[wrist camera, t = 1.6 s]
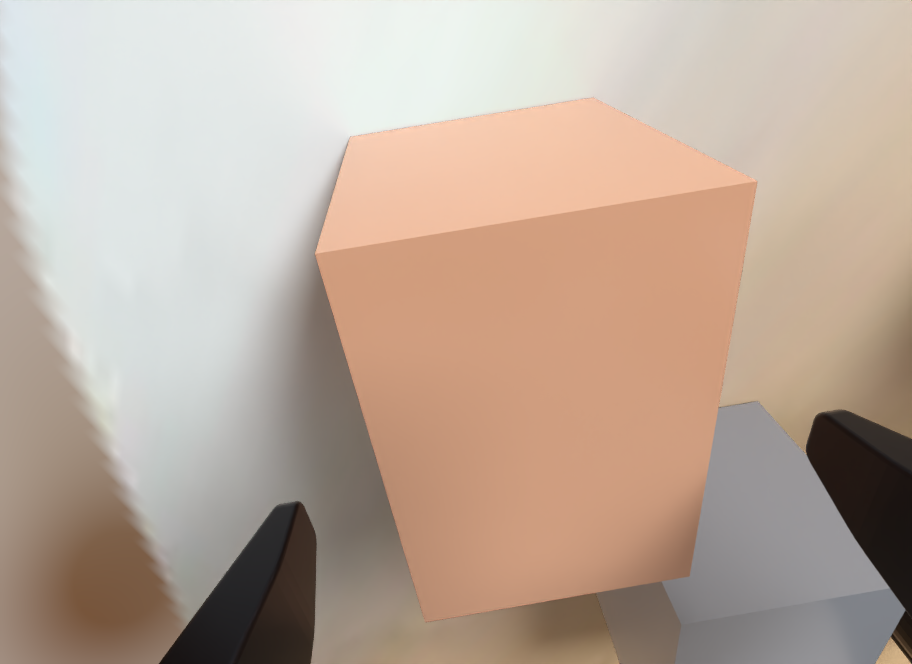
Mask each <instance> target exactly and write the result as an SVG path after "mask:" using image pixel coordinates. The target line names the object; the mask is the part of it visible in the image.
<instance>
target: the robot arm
mask: <svg viewBox="0 0 912 664" xmlns="http://www.w3.org/2000/svg"><path fill="white" fill-rule="evenodd" d="M806 453H807V457H808V459H809V462H810V463H811V465H812V467H813V469H814V470H815V472H816V474H817V475H818V477H819V479H820V481H821V482H822V484H823V486H824V487H825V489H826V491H827V493H828V494H829V496H830V498H831V500H832V501H833V503H834V505H835V506H836V508H837V510H838V512H839V513H840V515H841V517H842V518H843V520H844V522H845V524H846V525H847V527H848V529H849V530H850V532H851V533H852V535H853V537H854V538H855V540H856V541H857V543H858V544H859V546H860V547H861V549H862V550H863V552H864V553H865V554H866V556H867V557H868V559H869V560H870V561H871V563H872V564H873V566H874V567H875V568H876V570H877V571H878V572H879V574H880V575H881V577H882V578H883V579H884V581H885V582H886V584H887V585H888V586H889V588H890V589H891V591H892V592H893V593H894V595H895V596H896V597H897V599H898V600H899V602H900V603H901V604H902V606H903V607H904V609H905V612H904V614H903V616H902V617H901V619H900V621H899V623H898V624H897V626H896V628H895V630H894V631H893V633H892V635H891V638H892V639H893V640H894V642H895V643H896V644H897V646H898V647H899V648H900V649H901V651H902V652H903V653H904V655H905V656H906V657H907V658H908V660H909V661H910V662H911V664H912V439H910V438H908V437H906V436H904V435H901V434H899V433H897V432H895V431H892V430H890V429H888V428H885V427H883V426H881V425H879V424H876V423H874V422H872V421H869V420H867V419H865V418H863V417H860V416H858V415H856V414H854V413H851V412H849V411H846V410H833V411H827V412H821V413H819V414H818V415H817V416H816V417H815V419H814V421H813V425H812V428H811V431H810V435H809V438H808V441H807V445H806ZM316 548H317V543H316V534H315V531H314V528H313V526H312V523H311V521H310V519H309V516H308V514H307V512H306V510H305V507H304V505H303V504H302V503H301V502H299V501H295V502H290V503H284V504H279V505H277V506H276V507H275V508H274V509H273V510H272V511H271V513H270V514H269V515H268V517H267V518H266V520H265V521H264V522H263V524H262V525H261V526H260V528H259V529H258V530H257V532H256V533H255V534H254V536H253V537H252V538H251V540H250V541H249V543H248V544H247V545H246V547H245V548H244V549H243V551H242V552H241V553H240V555H239V556H238V557H237V559H236V560H235V561H234V563H233V564H232V565H231V567H230V568H229V570H228V571H227V572H226V574H225V575H224V576H223V578H222V579H221V580H220V582H219V583H218V584H217V586H216V587H215V588H214V590H213V591H212V593H211V594H210V595H209V597H208V598H207V599H206V601H205V602H204V603H203V605H202V606H201V607H200V609H199V610H198V611H197V613H196V614H195V615H194V617H193V618H192V620H191V621H190V622H189V624H188V625H187V626H186V628H185V629H184V630H183V632H182V633H181V634H180V636H179V637H178V638H177V640H176V641H175V643H174V644H173V645H172V647H171V648H170V649H169V651H168V652H167V653H166V655H165V656H164V657H163V659H162V660H161V662H160V663H159V664H311V657H312V649H313V640H314V626H315V591H316Z"/></svg>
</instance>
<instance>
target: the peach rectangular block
mask: <svg viewBox="0 0 912 664" xmlns="http://www.w3.org/2000/svg"><path fill="white" fill-rule="evenodd" d="M756 187H757V181H756V180H754V179H752V178H750V177H748V176H746V175H744V174H743V173H741V172H739V171H737V170H735V169H733V168H731V167H729V166H727V165H725V164H723V163H721V162H719V161H717V160H715V159H713V158H711V157H709V156H707V155H705V154H703V153H701V152H699V151H697V150H695V149H693V148H691V147H690V146H688V145H686V144H684V143H682V142H680V141H678V140H676V139H674V138H672V137H670V136H668V135H666V134H664V133H662V132H660V131H658V130H656V129H654V128H652V127H650V126H648V125H646V124H644V123H642V122H640V121H638V120H637V119H635V118H633V117H631V116H629V115H627V114H625V113H623V112H621V111H619V110H617V109H615V108H613V107H611V106H609V105H607V104H605V103H603V102H601V101H599V100H597V99H595V98H587V99H581V100H575V101H569V102H563V103H556V104H550V105H544V106H538V107H532V108H525V109H519V110H513V111H507V112H501V113H494V114H488V115H482V116H476V117H470V118H464V119H457V120H451V121H445V122H439V123H433V124H426V125H420V126H414V127H408V128H402V129H395V130H389V131H383V132H377V133H371V134H365V135H358V136H352V137H350V139H349V142H348V145H347V149H346V152H345V155H344V159H343V162H342V165H341V169H340V172H339V175H338V179H337V182H336V185H335V189H334V192H333V195H332V199H331V202H330V205H329V209H328V212H327V215H326V219H325V222H324V225H323V229H322V232H321V235H320V238H319V242H318V245H317V248H316V252H315V256H316V259H317V263H318V266H319V269H320V273H321V276H322V279H323V283H324V286H325V289H326V293H327V296H328V299H329V303H330V306H331V309H332V313H333V316H334V319H335V323H336V326H337V329H338V333H339V336H340V339H341V343H342V346H343V349H344V353H345V356H346V360H347V363H348V366H349V370H350V373H351V376H352V380H353V383H354V386H355V390H356V393H357V396H358V400H359V403H360V406H361V410H362V413H363V416H364V420H365V423H366V426H367V430H368V433H369V436H370V440H371V443H372V446H373V450H374V453H375V456H376V460H377V463H378V466H379V470H380V473H381V476H382V480H383V483H384V486H385V490H386V493H387V497H388V500H389V503H390V507H391V510H392V513H393V517H394V520H395V523H396V527H397V530H398V533H399V537H400V540H401V543H402V547H403V550H404V553H405V557H406V560H407V563H408V567H409V570H410V573H411V577H412V580H413V583H414V587H415V590H416V593H417V597H418V600H419V603H420V607H421V610H422V613H423V617H424V620H425V622H431V621H436V620H442V619H448V618H454V617H459V616H465V615H471V614H477V613H482V612H488V611H494V610H500V609H505V608H511V607H517V606H523V605H528V604H534V603H540V602H546V601H551V600H557V599H563V598H569V597H574V596H580V595H586V594H592V593H597V592H603V591H609V590H615V589H620V588H626V587H632V586H638V585H643V584H649V583H655V582H661V581H666V580H672V579H678V578H684V577H689V576H690V571H691V565H692V560H693V554H694V548H695V542H696V536H697V530H698V525H699V519H700V513H701V507H702V501H703V496H704V490H705V484H706V478H707V472H708V466H709V461H710V455H711V449H712V443H713V437H714V431H715V426H716V420H717V414H718V408H719V402H720V396H721V391H722V385H723V379H724V373H725V367H726V361H727V356H728V350H729V344H730V338H731V332H732V327H733V321H734V315H735V309H736V303H737V297H738V292H739V286H740V280H741V274H742V268H743V262H744V257H745V251H746V245H747V239H748V233H749V227H750V222H751V216H752V210H753V204H754V198H755V192H756Z"/></svg>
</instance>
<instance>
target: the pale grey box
mask: <svg viewBox="0 0 912 664" xmlns="http://www.w3.org/2000/svg"><path fill="white" fill-rule="evenodd" d="M596 595H597V598H598V601H599V604H600V607H601V610H602V613H603V616H604V618H605V621H606V624H607V627H608V630H609V633H610V636H611V639H612V642H613V645H614V648H615V651H616V654H617V657H618V660H619V663H620V664H875V663H876V661H877V659H878V658H879V656H880V654H881V652H882V651H883V649H884V647H885V645H886V644H887V642H888V640H889V638H890V637H891V635H892V633H893V631H894V630H895V628H896V626H897V624H898V623H899V621H900V619H901V617H902V616H903V614H904V612H905V609H904V607H903V606H902V604H901V603H900V602H899V600H898V599H897V597H896V596H895V595H894V593H893V592H892V591H891V589H890V588H889V586H888V585H887V584H886V582H885V581H884V579H883V578H882V577H881V575H880V574H879V572H878V571H877V570H876V568H875V567H874V566H873V564H872V563H871V561H870V560H869V559H868V557H867V556H866V554H865V553H864V552H863V550H862V549H861V547H860V546H859V544H858V543H857V541H856V540H855V538H854V537H853V535H852V533H851V532H850V530H849V529H848V527H847V525H846V524H845V522H844V520H843V518H842V517H841V515H840V513H839V512H838V510H837V508H836V506H835V505H834V503H833V501H832V500H831V498H830V496H829V494H828V493H827V491H826V489H825V487H824V486H823V484H822V482H821V481H820V479H819V477H818V475H817V474H816V472H815V470H814V469H813V467H812V465H811V463H810V462H809V459H808V457H807V455H806V454H805V453H804V452H803V451H802V450H801V449H800V448H799V446H798V445H797V444H796V443H795V442H794V441H793V440H792V439H791V438H790V436H789V435H788V434H787V433H786V432H785V431H784V430H783V429H782V428H781V426H780V425H779V424H778V423H777V422H776V421H775V420H774V419H773V418H772V416H771V415H770V414H769V413H768V412H767V411H766V410H765V409H764V408H763V406H762V405H761V404H760V403H759V402H758V401H756V402H751V403H745V404H739V405H733V406H727V407H721V408H718V414H717V420H716V426H715V431H714V437H713V443H712V449H711V455H710V461H709V466H708V472H707V478H706V484H705V490H704V496H703V501H702V507H701V513H700V519H699V525H698V530H697V536H696V542H695V548H694V554H693V560H692V565H691V571H690V576H689V577H684V578H678V579H672V580H666V581H661V582H655V583H649V584H643V585H638V586H632V587H626V588H620V589H615V590H609V591H603V592H597V593H596Z"/></svg>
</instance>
